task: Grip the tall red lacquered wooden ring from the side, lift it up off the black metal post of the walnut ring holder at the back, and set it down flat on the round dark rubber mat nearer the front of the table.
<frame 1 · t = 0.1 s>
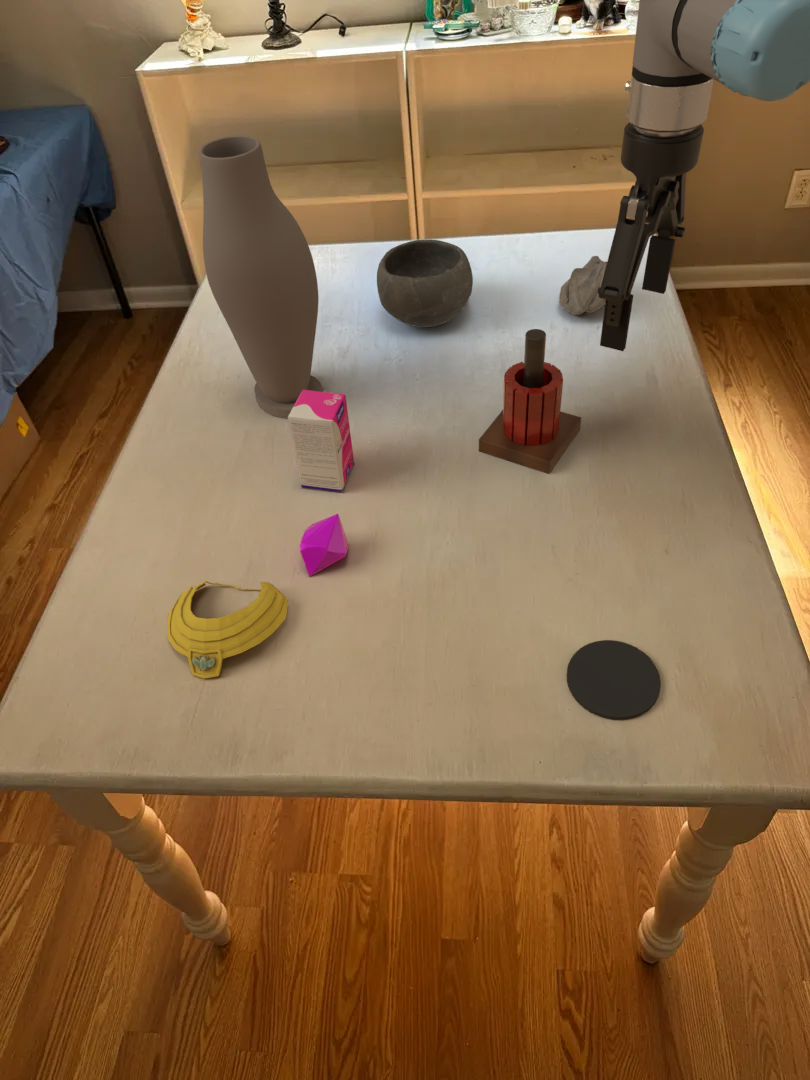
hand: (634, 317, 92), 17 cm above the table, tool pointing down, fingers open, 13 cm apart
supplement box: (329, 477, 102), on the table
ring: (530, 428, 102), point 2 cm above the table, touching ring holder
necklace: (222, 631, 86), on the table
mat: (612, 679, 78), on the table
bowl: (426, 317, 127), on the table
fossil: (586, 308, 125), on the table
ring holder: (529, 440, 104), on the table
vase: (288, 400, 114), on the table
crystal: (326, 559, 92), on the table
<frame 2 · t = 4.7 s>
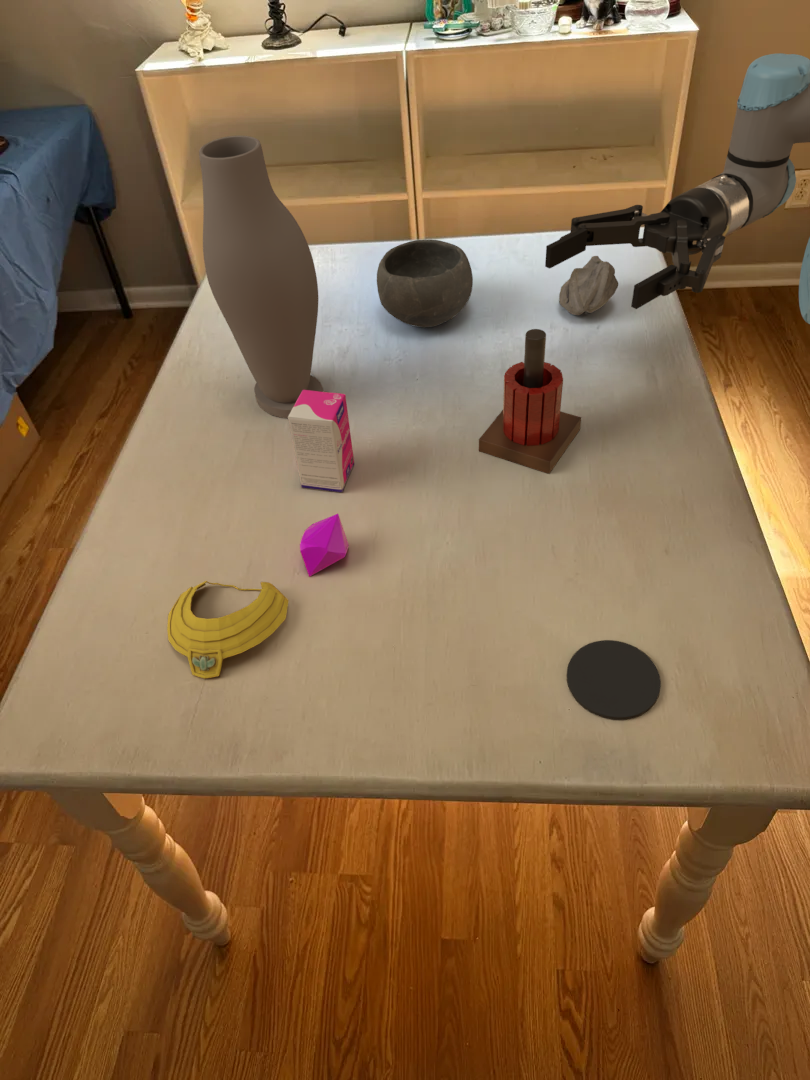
hand: (589, 276, 93), 20 cm above the table, tool horizontal, fingers open, 13 cm apart
nothing on the table moved.
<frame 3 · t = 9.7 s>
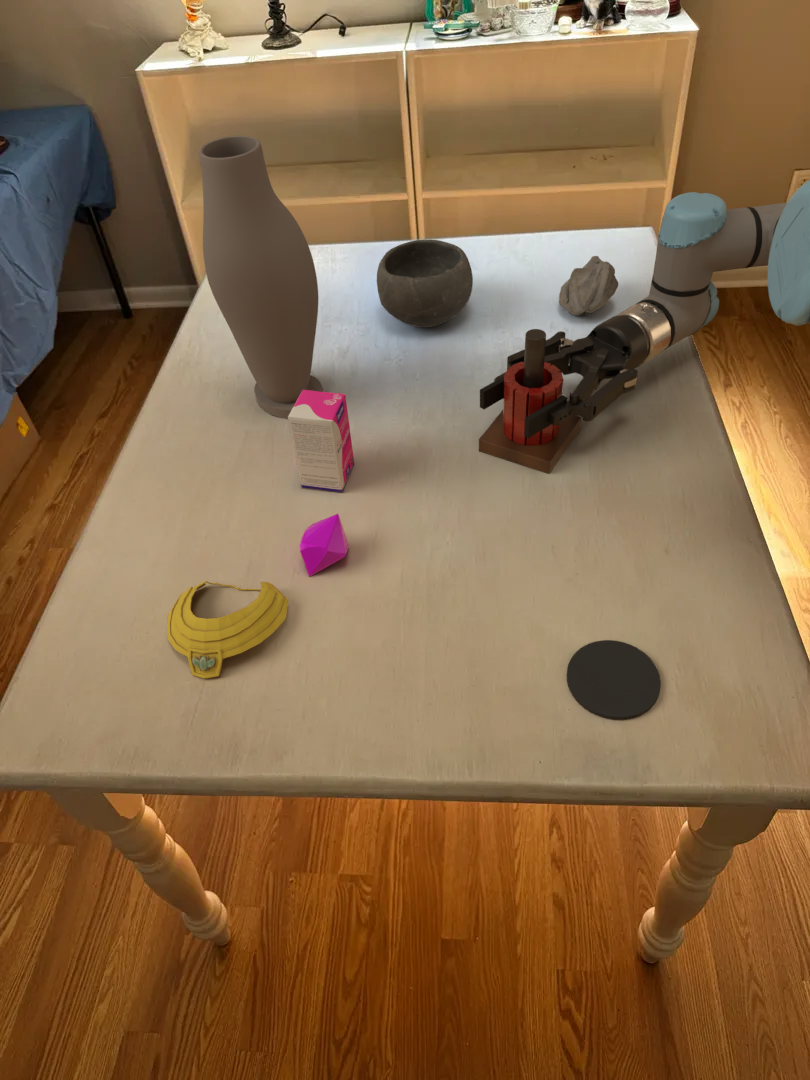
hand: (503, 413, 97), 7 cm above the table, tool horizontal, fingers closed on ring, 7 cm apart
ring: (530, 428, 102), point 2 cm above the table, touching gripper, ring holder
everything else where it was.
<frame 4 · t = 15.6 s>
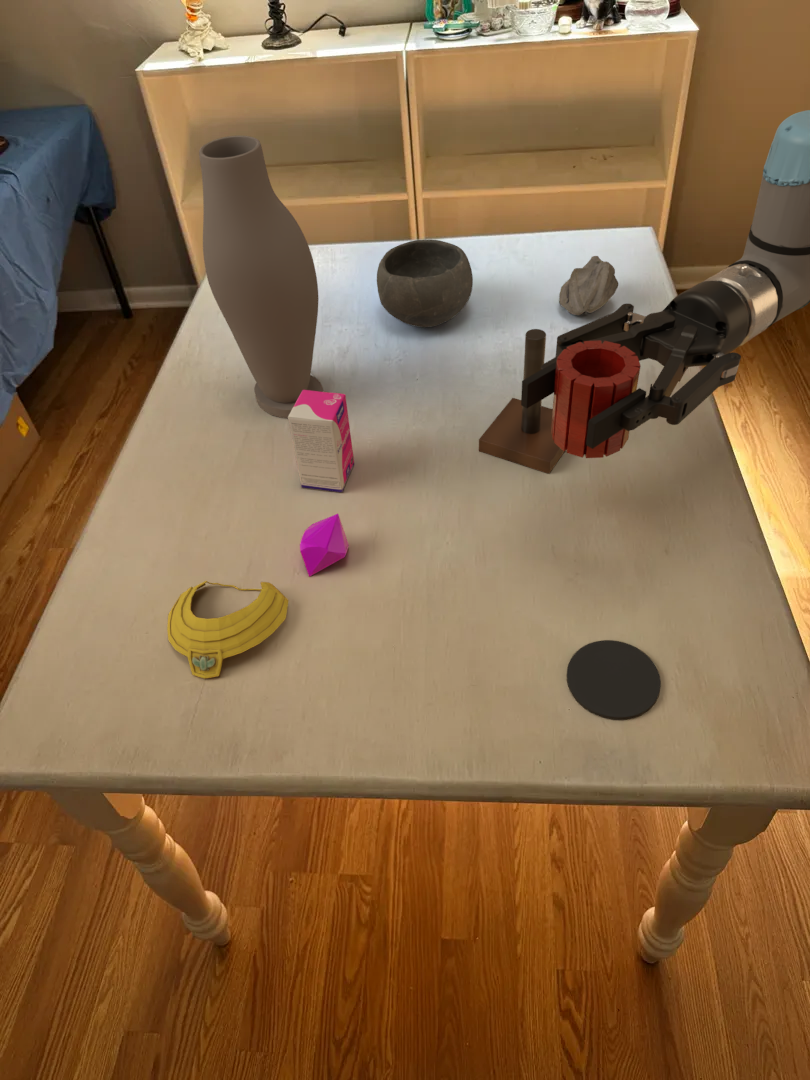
hand: (556, 413, 69), 24 cm above the table, tool horizontal, fingers closed on ring, 7 cm apart
ring: (589, 433, 75), point 19 cm above the table, touching gripper
everything else where it was.
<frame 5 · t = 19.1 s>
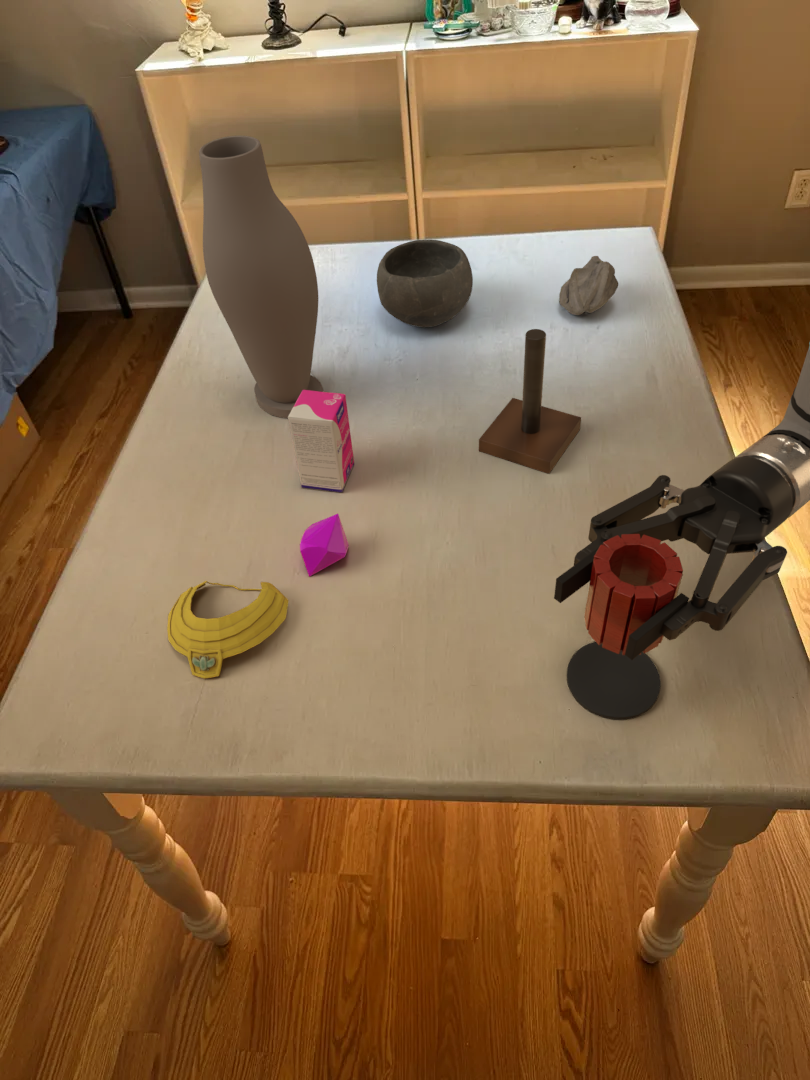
hand: (593, 618, 65), 14 cm above the table, tool horizontal, fingers closed on ring, 7 cm apart
ring: (624, 622, 71), point 9 cm above the table, touching gripper
everything else where it was.
when the fingers open (5 cm above the table, at t = 21.8 s): ring stays where it is, resting on mat.
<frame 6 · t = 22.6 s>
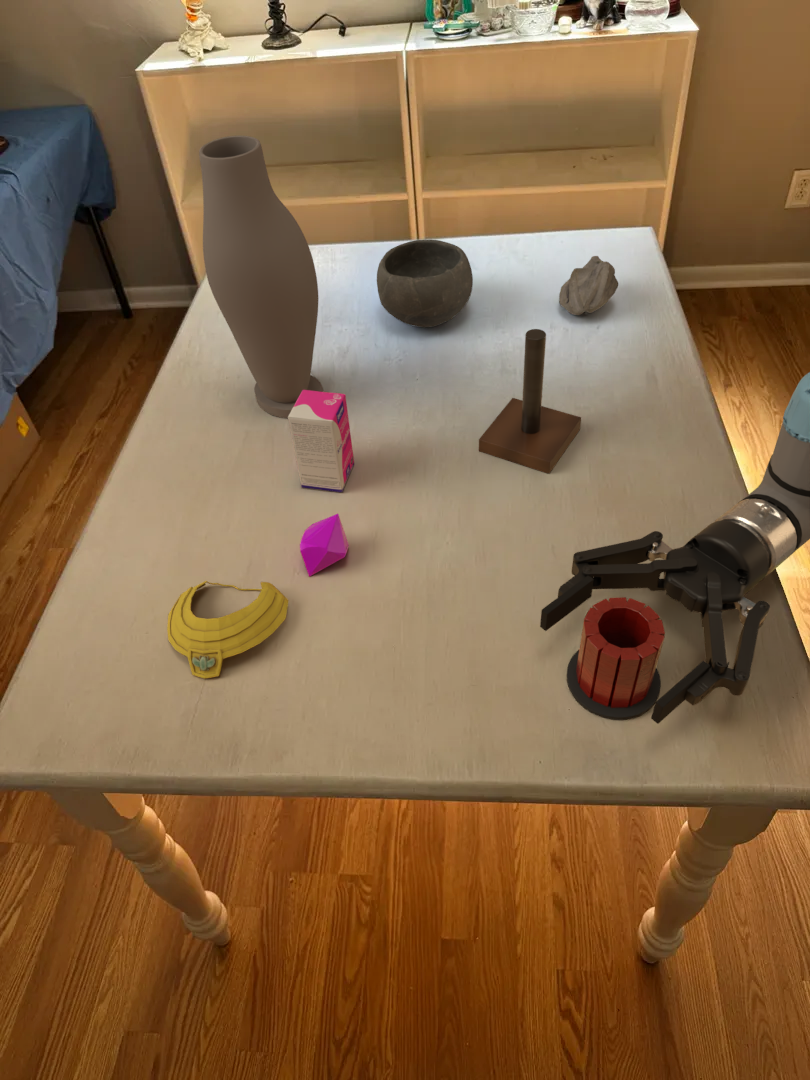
hand: (596, 664, 72), 6 cm above the table, tool horizontal, fingers open, 13 cm apart
ring: (613, 676, 77), resting on mat
everything else where it was.
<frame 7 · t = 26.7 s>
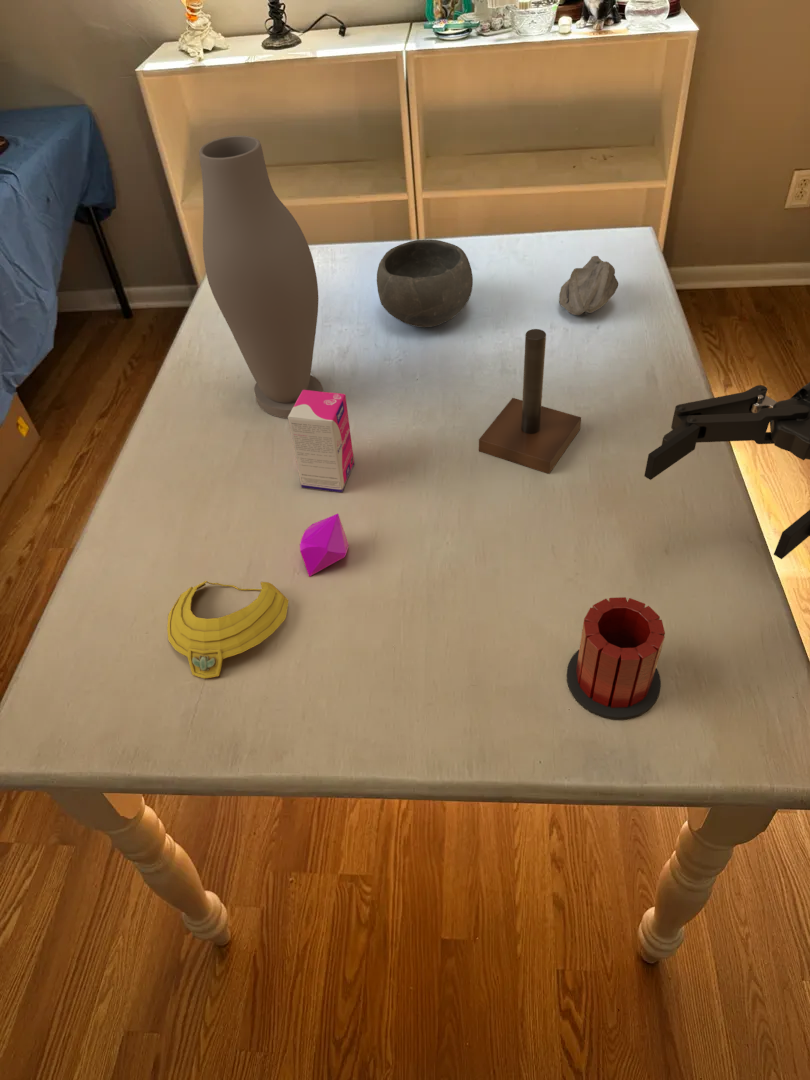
hand: (711, 504, 68), 18 cm above the table, tool horizontal, fingers open, 13 cm apart
nothing on the table moved.
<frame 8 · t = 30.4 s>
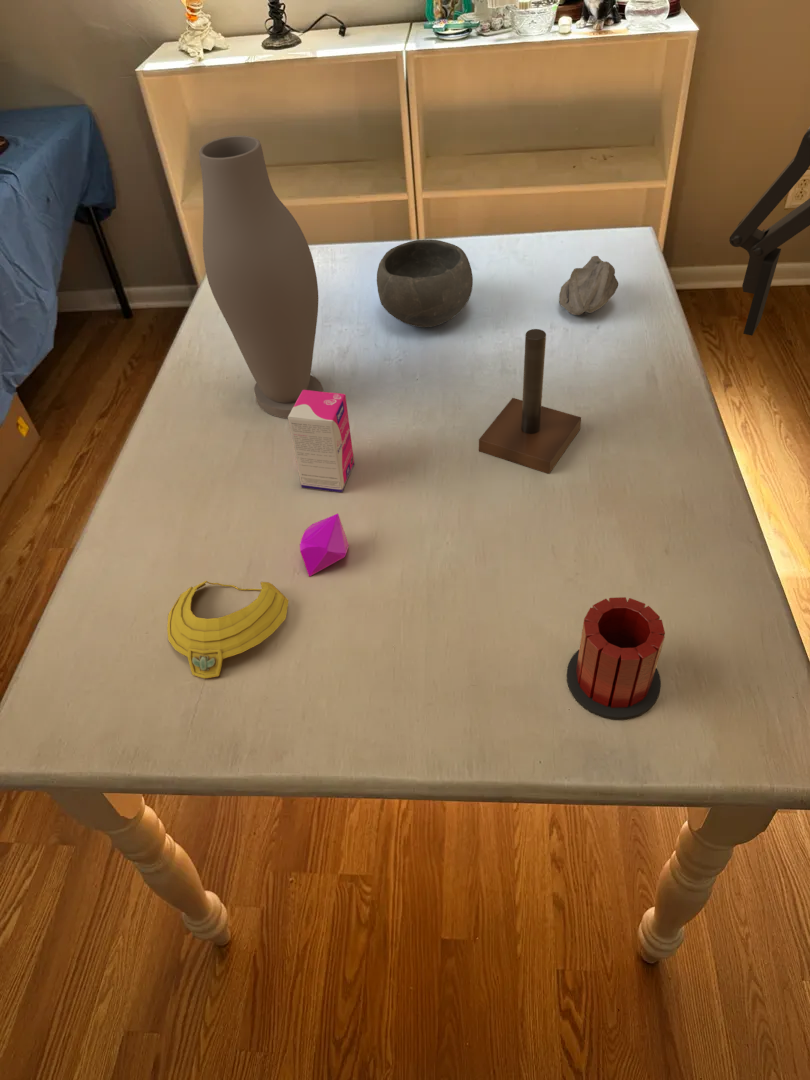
nothing on the table moved.
at the end: ring 0.1 cm off-centre on the mat, point 0.5 cm above the mat's base; ring tilted 0°; ring touching mat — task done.
